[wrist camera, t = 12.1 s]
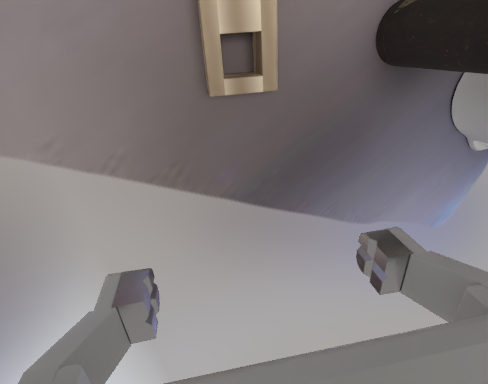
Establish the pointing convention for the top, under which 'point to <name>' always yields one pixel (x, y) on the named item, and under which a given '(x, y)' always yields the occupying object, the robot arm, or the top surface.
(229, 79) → the socket block
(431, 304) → the robot arm
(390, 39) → the container
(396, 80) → the top surface
